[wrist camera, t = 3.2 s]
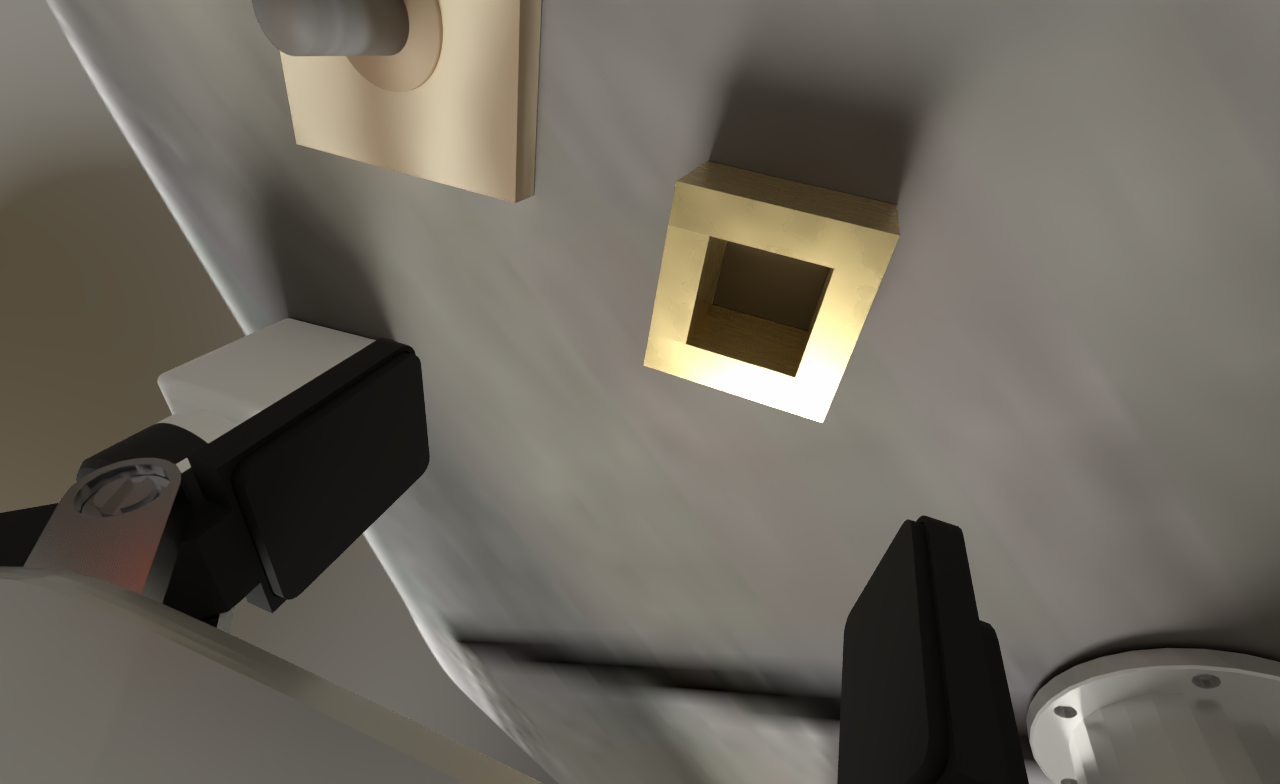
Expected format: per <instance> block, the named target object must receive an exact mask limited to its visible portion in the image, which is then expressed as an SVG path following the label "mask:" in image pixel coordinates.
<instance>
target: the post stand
mask: <svg viewBox="0 0 1280 784" xmlns="http://www.w3.org/2000/svg"><path fill="white" fill-rule="evenodd" d="M252 4H253V8H254V12H255V15H256V18H257V20H258V23H259V25H260V27H261V29H262V30H263V32H264V34H265V35H266V37H267V38H268V39H269V41H270V42H271V43H272V44H273V45H274V46H275V47H276V48H277V49H279V50H280V55H281V60H282V66H283V71H284V77H285V82H286V88H287V94H288V99H289V105H290V110H291V116H292V121H293V127H294V132H295V138H296V144H298V145H302V146H306V147H309V148H313V149H317V150H321V151H324V152H328V153H332V154H335V155H339V156H343V157H346V158H350V159H354V160H358V161H361V162H365V163H369V164H372V165H376V166H380V167H383V168H387V169H391V170H395V171H398V172H402V173H406V174H409V175H413V176H417V177H421V178H424V179H428V180H432V181H435V182H439V183H443V184H446V185H450V186H454V187H458V188H461V189H465V190H469V191H472V192H476V193H480V194H483V195H487V196H491V197H495V198H498V199H502V200H506V201H509V202H513V203H517V202H519V201H521V200H524V199H526V198H529V197H531V196H534V176H535V151H536V127H537V103H538V79H539V54H540V30H541V6H542V0H252Z"/></svg>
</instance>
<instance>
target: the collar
mask: <svg viewBox="0 0 1280 784" xmlns="http://www.w3.org/2000/svg"><path fill="white" fill-rule="evenodd" d="M899 236H900V232H899V222H898V212H897V205H894V204H890V203H886V202H881V201H877V200H873V199H868V198H864V197H860V196H856V195H851V194H847V193H843V192H838V191H834V190H830V189H826V188H821V187H817V186H813V185H808V184H804V183H800V182H796V181H791V180H787V179H783V178H778V177H774V176H770V175H766V174H761V173H757V172H753V171H748V170H744V169H740V168H736V167H731V166H727V165H723V164H718V163H714V162H710V161H707V162H706V163H704V164H703V165H701V166H699V167H698V168H696V169H695V170H693V171H691V172H690V173H688V174H687V175H685V176H684V177H682V178H680V179H679V180H677V181H676V186H675V191H674V197H673V203H672V208H671V214H670V220H669V225H668V231H667V237H666V242H665V248H664V254H663V259H662V265H661V270H660V276H659V282H658V287H657V293H656V299H655V304H654V310H653V316H652V321H651V327H650V333H649V338H648V344H647V349H646V355H645V361H644V366H647V367H650V368H653V369H657V370H660V371H663V372H666V373H669V374H672V375H675V376H678V377H681V378H685V379H688V380H691V381H694V382H697V383H700V384H703V385H706V386H709V387H713V388H716V389H719V390H722V391H725V392H728V393H731V394H734V395H737V396H741V397H744V398H747V399H750V400H753V401H756V402H759V403H762V404H765V405H769V406H772V407H775V408H778V409H781V410H784V411H787V412H790V413H793V414H797V415H800V416H803V417H806V418H809V419H812V420H815V421H818V422H821V423H823V421H824V418H825V416H826V413H827V411H828V409H829V406H830V404H831V401H832V399H833V396H834V394H835V392H836V389H837V387H838V384H839V382H840V379H841V377H842V375H843V372H844V370H845V367H846V365H847V362H848V360H849V358H850V355H851V353H852V350H853V348H854V346H855V343H856V341H857V338H858V336H859V333H860V331H861V329H862V326H863V324H864V321H865V319H866V316H867V314H868V312H869V309H870V307H871V304H872V302H873V299H874V297H875V295H876V292H877V290H878V287H879V285H880V282H881V280H882V278H883V275H884V273H885V270H886V268H887V266H888V263H889V261H890V258H891V256H892V253H893V251H894V249H895V246H896V244H897V241H898V239H899ZM728 241H731V242H735V243H738V244H742V245H746V246H750V247H754V248H758V249H761V250H765V251H769V252H773V253H777V254H780V255H784V256H788V257H792V258H796V259H799V260H803V261H807V262H811V263H815V264H818V265H822V266H826V267H830V270H829V273H828V275H827V278H826V281H825V284H824V287H823V290H822V292H821V295H820V298H819V301H818V304H817V306H816V309H815V312H814V315H813V318H812V321H811V323H810V326H809V329H808V332H807V331H804V330H800V329H797V328H793V327H790V326H786V325H783V324H779V323H776V322H773V321H769V320H766V319H762V318H759V317H755V316H752V315H748V314H745V313H741V312H738V311H734V310H731V309H728V308H724V307H721V306H717V305H714V304H713V300H714V296H715V292H716V287H717V283H718V279H719V275H720V271H721V267H722V262H723V258H724V254H725V250H726V246H727V242H728Z"/></svg>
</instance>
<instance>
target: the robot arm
mask: <svg viewBox="0 0 1280 784" xmlns="http://www.w3.org/2000/svg"><path fill="white" fill-rule="evenodd" d="M429 457H430V456H429V446H428V435H427V424H426V414H425V403H424V392H423V381H422V371H421V362H420V359H419V358H418V357H417V356H416V355H415V351H414V350H413V348H412V347H410V346H408V345H405V344H402V343H399V342H396V341H393V340H390V339H387V338H381V339H378V340H376V341H374V342H373V343H371V344H370V345H368V346H366V347H365V348H363V349H361V350H360V351H358V352H357V353H355V354H353V355H352V356H350V357H348V358H347V359H345V360H343V361H342V362H340V363H339V364H337V365H335V366H334V367H332V368H330V369H329V370H327V371H326V372H324V373H322V374H321V375H319V376H317V377H316V378H314V379H313V380H311V381H309V382H308V383H306V384H304V385H303V386H301V387H300V388H298V389H296V390H295V391H293V392H291V393H290V394H288V395H287V396H285V397H283V398H282V399H280V400H278V401H277V402H275V403H274V404H272V405H270V406H269V407H267V408H265V409H264V410H262V411H260V412H259V413H257V414H256V415H254V416H252V417H251V418H249V419H247V420H246V421H244V422H243V423H241V424H239V425H238V426H236V427H234V428H233V429H231V430H230V431H228V432H226V433H225V434H223V435H221V436H220V437H218V438H217V439H215V440H213V441H212V442H210V443H208V444H207V445H205V446H204V447H202V448H200V449H199V450H197V451H195V452H194V453H192V454H191V455H189V456H187V458H188V461H189V463H190V465H191V467H190V468H189V469H187V470H186V471H184V472H183V473H181V471H180V470H179V468H178V467H177V465H175V464H173V463H172V462H170V461H168V460H164V459H158V458H135V459H130V460H125V461H120V462H116V463H114V464H111V465H108V466H105V467H102V468H100V469H98V470H96V471H94V472H92V473H90V474H88V475H86V476H84V477H83V478H81V479H80V480H79V481H77V482H76V483H75V484H73V485H72V486H71V487H70V488H69V489H68V491H67V492H66V493H65V494H64V495H63V497H62V498H61V500H60V502H59V503H57V504H50V505H45V506H39V507H33V508H27V509H22V510H16V511H10V512H4V513H0V784H543V783H541V782H539V781H537V780H535V779H533V778H531V777H529V776H527V775H525V774H523V773H520V772H518V771H516V770H514V769H512V768H510V767H508V766H506V765H504V764H502V763H500V762H498V761H495V760H493V759H491V758H489V757H487V756H485V755H483V754H481V753H479V752H477V751H474V750H473V749H470V748H468V747H466V746H464V745H462V744H460V743H458V742H456V741H454V740H452V739H450V738H448V737H446V736H443V735H441V734H439V733H437V732H435V731H433V730H431V729H429V728H427V727H425V726H423V725H420V724H418V723H416V722H414V721H412V720H410V719H408V718H406V717H404V716H401V715H399V714H397V713H395V712H393V711H391V710H389V709H387V708H385V707H382V706H380V705H378V704H376V703H374V702H372V701H370V700H368V699H366V698H364V697H362V696H359V695H357V694H355V693H353V692H351V691H349V690H347V689H345V688H343V687H341V686H339V685H336V684H334V683H332V682H330V681H328V680H326V679H324V678H322V677H320V676H317V675H315V674H313V673H311V672H309V671H307V670H304V669H303V668H301V667H298V666H296V665H294V664H292V663H290V662H288V661H286V660H284V659H281V658H279V657H277V656H275V655H273V654H270V653H269V652H266V651H264V650H262V649H260V648H258V647H256V646H254V645H252V644H250V643H247V642H245V641H243V640H241V639H239V638H237V637H235V636H233V635H230V634H229V631H230V626H231V621H232V616H233V612H234V607H235V605H236V604H237V603H239V602H240V601H241V600H242V599H243V598H244V597H245V596H246V599H247V601H248V602H249V603H252V604H253V605H256V606H258V607H260V608H262V609H265V610H266V611H269V612H271V613H273V612H274V611H275V610H276V609H277V608H278V607H279V606H280V605H281V604H282V603H284V602H285V601H286V600H287V599H288V600H289V599H293V598H295V597H297V596H298V595H299V594H301V593H302V592H303V591H304V590H305V589H306V588H307V587H308V586H309V585H310V584H311V583H312V582H313V581H314V580H315V579H316V578H317V577H318V576H319V575H320V574H321V573H322V572H323V571H324V570H325V569H326V568H327V567H329V565H331V563H333V562H334V561H335V560H336V559H337V558H338V557H339V556H340V555H341V554H342V553H343V552H344V551H345V550H346V549H347V548H348V547H349V546H350V545H351V544H352V543H353V542H354V541H355V540H356V539H357V538H358V537H359V536H360V535H361V534H362V533H363V532H364V531H365V530H366V529H367V528H368V527H369V526H370V525H371V524H372V523H374V522H375V521H376V520H377V519H378V518H379V517H380V516H381V515H382V514H383V513H384V512H385V511H386V510H387V509H388V508H389V507H390V506H391V505H392V504H393V503H394V502H395V501H396V500H397V499H398V498H399V497H400V496H401V495H402V494H403V493H404V492H405V491H406V490H407V489H408V488H409V487H410V486H411V485H412V484H413V483H414V482H415V481H416V480H417V479H419V478H420V477H421V476H422V474H423V473H424V472H425V470H426V469H427V466H428V464H429ZM1026 722H1027V730H1028V737H1029V741H1030V745H1031V748H1032V752H1033V755H1034V758H1035V760H1036V761H1037V763H1038V764H1039V766H1040V768H1041V769H1042V771H1043V772H1044V774H1045V775H1046V776H1047V777H1048V778H1049V779H1050V780H1051V781H1052V782H1053V783H1054V784H1280V662H1278V661H1273V660H1269V659H1265V658H1260V657H1256V656H1252V655H1247V654H1242V653H1234V652H1226V651H1218V650H1210V649H1191V648H1160V649H1147V650H1135V651H1128V652H1123V653H1118V654H1113V655H1108V656H1103V657H1100V658H1097V659H1094V660H1091V661H1088V662H1085V663H1082V664H1079V665H1076V666H1074V667H1072V668H1070V669H1069V670H1067V671H1065V672H1063V673H1061V674H1059V675H1057V676H1056V677H1054V678H1053V679H1052V680H1050V681H1049V682H1048V683H1047V684H1046V685H1045V686H1043V687H1042V688H1041V689H1040V690H1039V691H1038V693H1037V694H1036V696H1035V697H1034V699H1033V700H1032V702H1031V703H1030V705H1029V710H1028V714H1027V718H1026ZM838 784H1029V782H1028V778H1027V773H1026V768H1025V764H1024V759H1023V754H1022V750H1021V745H1020V740H1019V735H1018V731H1017V726H1016V721H1015V717H1014V712H1013V707H1012V703H1011V698H1010V693H1009V688H1008V684H1007V679H1006V674H1005V670H1004V665H1003V660H1002V656H1001V651H1000V646H999V641H998V638H997V635H996V632H995V630H994V629H993V627H992V626H991V625H990V624H988V623H986V622H983V621H980V620H979V617H978V611H977V606H976V601H975V595H974V590H973V585H972V579H971V574H970V569H969V563H968V558H967V553H966V547H965V542H964V537H963V533H962V530H961V529H960V528H959V527H958V526H955V525H952V524H949V523H946V522H943V521H940V520H937V519H934V518H931V517H928V516H921V517H920V518H918V520H917V521H916V522H915V521H912V520H906V521H905V522H904V523H903V524H902V526H901V528H900V529H899V531H898V533H897V534H896V536H895V538H894V539H893V541H892V543H891V544H890V546H889V548H888V550H887V551H886V553H885V555H884V556H883V558H882V560H881V561H880V563H879V565H878V566H877V568H876V570H875V571H874V573H873V575H872V576H871V578H870V580H869V581H868V583H867V585H866V586H865V588H864V590H863V592H862V593H861V595H860V597H859V598H858V600H857V602H856V603H855V605H854V607H853V608H852V610H851V612H850V614H849V616H848V618H847V621H846V625H845V630H844V645H843V668H842V692H841V715H840V738H839V761H838Z"/></svg>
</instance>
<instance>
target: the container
mask: <svg viewBox="0 0 1280 784" xmlns="http://www.w3.org/2000/svg"><path fill="white" fill-rule="evenodd" d="M374 341H376V340H373V339H369V338H365V337H361V336H357V335H353V334H349V333H346V332H342V331H338V330H334V329H330V328H326V327H322V326H318V325H314V324H310V323H306V322H302V321H298V320H295V319H291V318H288V319H283V320H281V321H279V322H277V323H274V324H272V325H270V326H268V327H265V328H263V329H261V330H259V331H257V332H254V333H252V334H250V335H248V336H245V337H243V338H241V339H239V340H237V341H234V342H232V343H230V344H227V345H225V346H223V347H221V348H219V349H216V350H214V351H212V352H210V353H207V354H205V355H203V356H201V357H198V358H196V359H194V360H192V361H189V362H187V363H185V364H183V365H181V366H178V367H176V368H174V369H172V370H169V371H167V372H165V373H163V374H161V375H160V376H159V377H158V384H159V387H160V389H161V391H162V393H163V395H164V398H165V400H166V402H167V404H168V406H169V408H170V410H171V413H172V416H170V417H168V418H166V419H164V420H162V421H160V422H158V423H156V424H154V425H152V426H150V427H148V428H146V429H144V430H142V431H140V432H138V433H136V434H134V435H132V436H131V437H129V438H127V439H125V440H123V441H121V442H119V443H117V444H115V445H113V446H111V447H109V448H107V449H105V450H103V451H101V452H99V453H97V454H95V455H94V456H92V457H90V458H88V459H86V460H85V461H83V463H82V465H81V467H80V469H79V471H78V474H77V478H76V480H77V481H79V480H80V479H81V478H83V477H84V476H86V475H88V474H90V473H92V472H94V471H96V470H98V469H100V468H102V467H105V466H108V465H111V464H114V463H116V462H120V461H125V460H130V459H135V458H158V459H164V460H168V461H170V462H172V463H173V464H175V465H177V467H178V468H179V470H180V471H181V473H183V472H184V471H186V470H187V469H189V468H190V467H191V465H190V463H189V461H188V458H187V456H189V455H191V454H192V453H194V452H195V451H197V450H199V449H200V448H202V447H204V446H205V445H207V444H208V443H210V442H212V441H213V440H215V439H217V438H218V437H220V436H221V435H223V434H225V433H226V432H228V431H230V430H231V429H233V428H234V427H236V426H238V425H239V424H241V423H243V422H244V421H246V420H247V419H249V418H251V417H252V416H254V415H256V414H257V413H259V412H260V411H262V410H264V409H265V408H267V407H269V406H270V405H272V404H274V403H275V402H277V401H278V400H280V399H282V398H283V397H285V396H287V395H288V394H290V393H291V392H293V391H295V390H296V389H298V388H300V387H301V386H303V385H304V384H306V383H308V382H309V381H311V380H313V379H314V378H316V377H317V376H319V375H321V374H322V373H324V372H326V371H327V370H329V369H330V368H332V367H334V366H335V365H337V364H339V363H340V362H342V361H343V360H345V359H347V358H348V357H350V356H352V355H353V354H355V353H357V352H358V351H360V350H361V349H363V348H365V347H366V346H368V345H370V344H371V343H373V342H374Z"/></svg>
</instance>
